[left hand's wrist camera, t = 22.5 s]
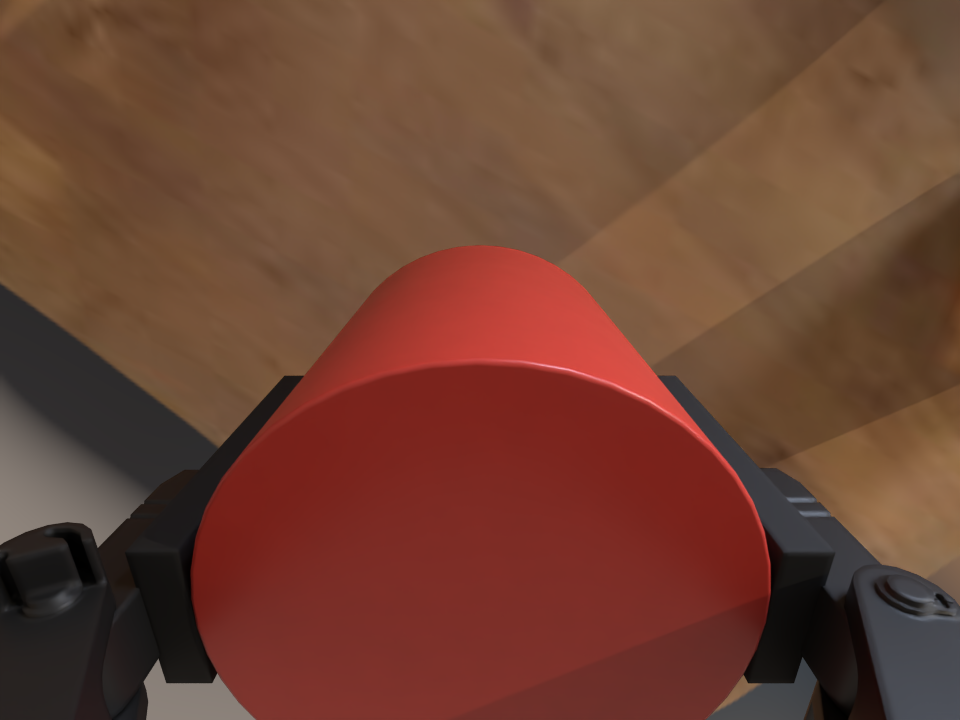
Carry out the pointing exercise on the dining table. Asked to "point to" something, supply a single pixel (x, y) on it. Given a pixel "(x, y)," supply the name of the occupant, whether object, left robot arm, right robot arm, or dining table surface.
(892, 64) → the dining table surface
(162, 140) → the dining table surface
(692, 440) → the can
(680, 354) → the dining table surface
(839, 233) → the dining table surface
